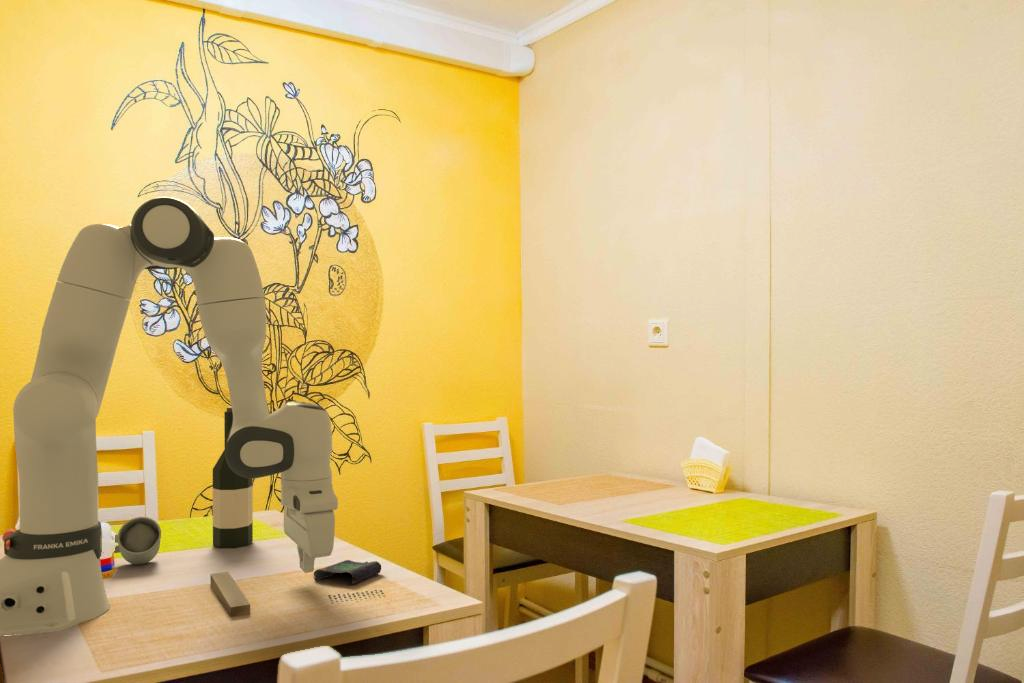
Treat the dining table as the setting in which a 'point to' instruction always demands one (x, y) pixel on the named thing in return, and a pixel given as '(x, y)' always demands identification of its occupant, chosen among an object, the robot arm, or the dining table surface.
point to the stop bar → (229, 594)
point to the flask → (350, 570)
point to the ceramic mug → (138, 540)
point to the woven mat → (355, 596)
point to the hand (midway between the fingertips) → (306, 570)
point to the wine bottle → (231, 501)
